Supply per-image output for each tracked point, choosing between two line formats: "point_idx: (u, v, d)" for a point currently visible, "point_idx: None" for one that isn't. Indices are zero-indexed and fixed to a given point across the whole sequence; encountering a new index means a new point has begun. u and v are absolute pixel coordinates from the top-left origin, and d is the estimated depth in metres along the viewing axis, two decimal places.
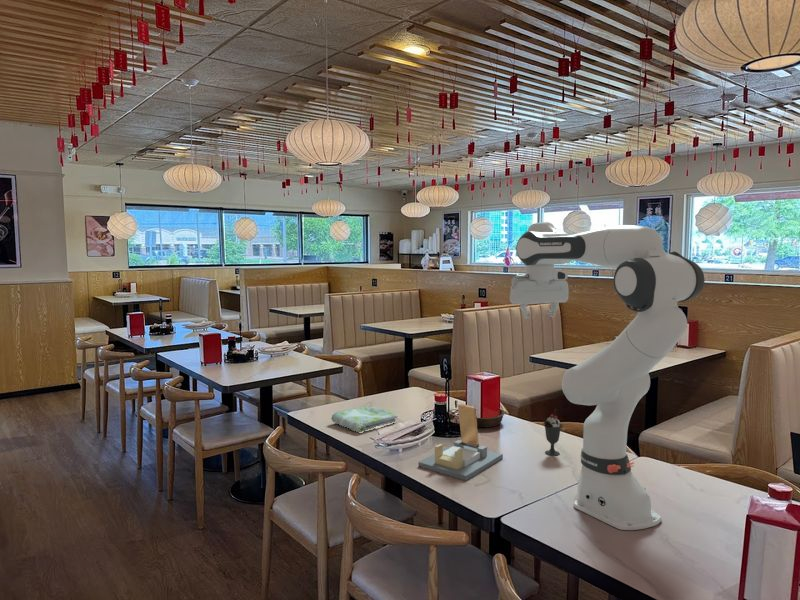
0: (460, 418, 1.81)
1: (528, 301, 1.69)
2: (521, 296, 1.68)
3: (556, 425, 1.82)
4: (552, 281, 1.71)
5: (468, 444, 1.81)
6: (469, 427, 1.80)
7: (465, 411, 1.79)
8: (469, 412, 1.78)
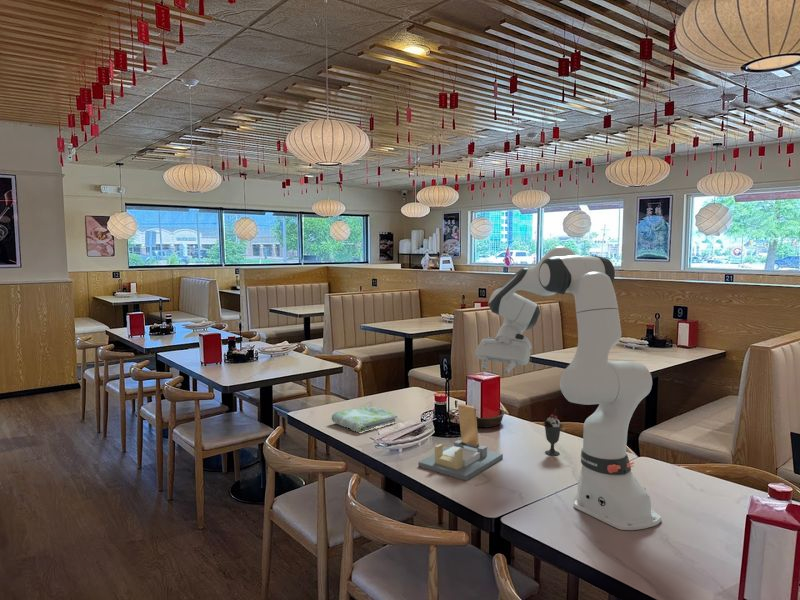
0: (460, 418, 1.81)
1: (485, 353, 1.97)
2: (481, 349, 2.00)
3: (556, 425, 1.82)
4: (512, 341, 1.95)
5: (468, 444, 1.81)
6: (469, 427, 1.80)
7: (465, 411, 1.79)
8: (469, 412, 1.78)
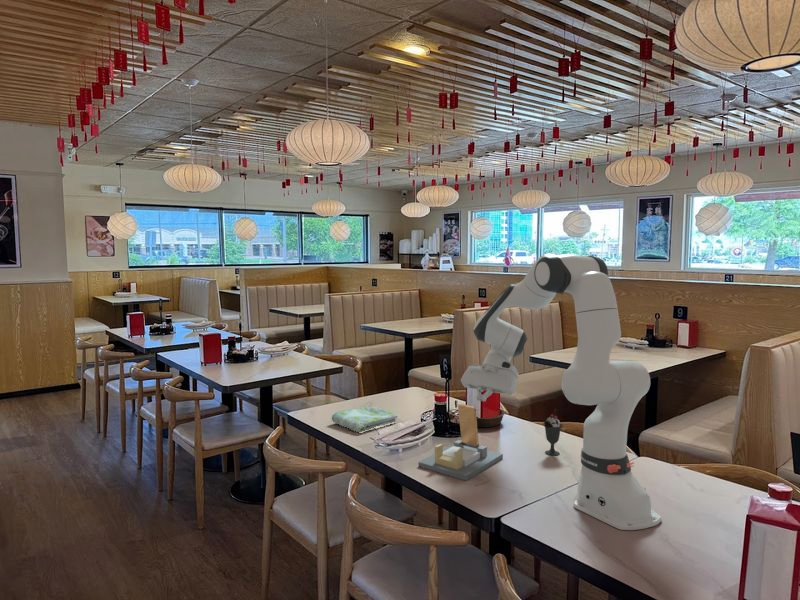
0: (460, 418, 1.81)
1: (471, 381, 1.90)
2: (467, 377, 1.93)
3: (556, 425, 1.82)
4: (498, 369, 1.88)
5: (468, 444, 1.81)
6: (469, 427, 1.80)
7: (465, 411, 1.79)
8: (469, 412, 1.78)
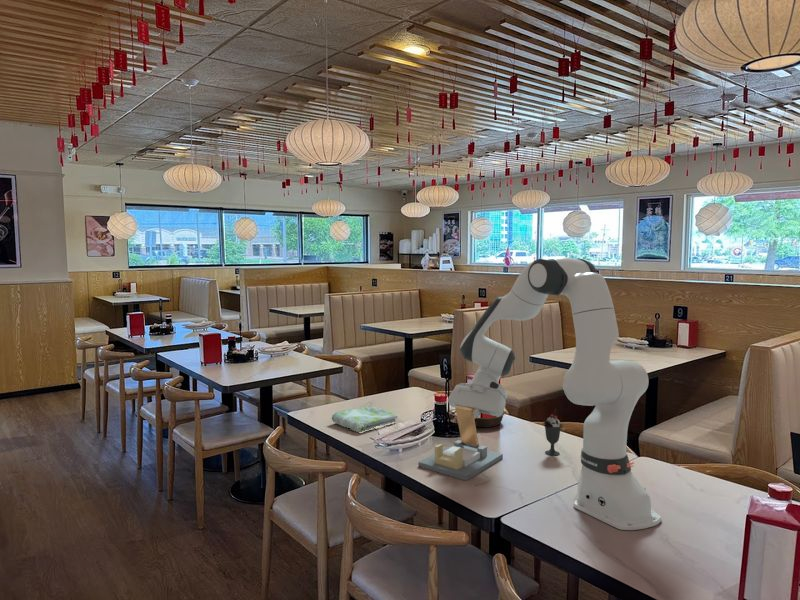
0: (458, 420, 1.80)
1: (458, 401, 1.85)
2: (454, 396, 1.87)
3: (556, 425, 1.82)
4: (486, 390, 1.82)
5: (468, 444, 1.81)
6: (467, 428, 1.79)
7: (463, 413, 1.78)
8: (467, 414, 1.77)
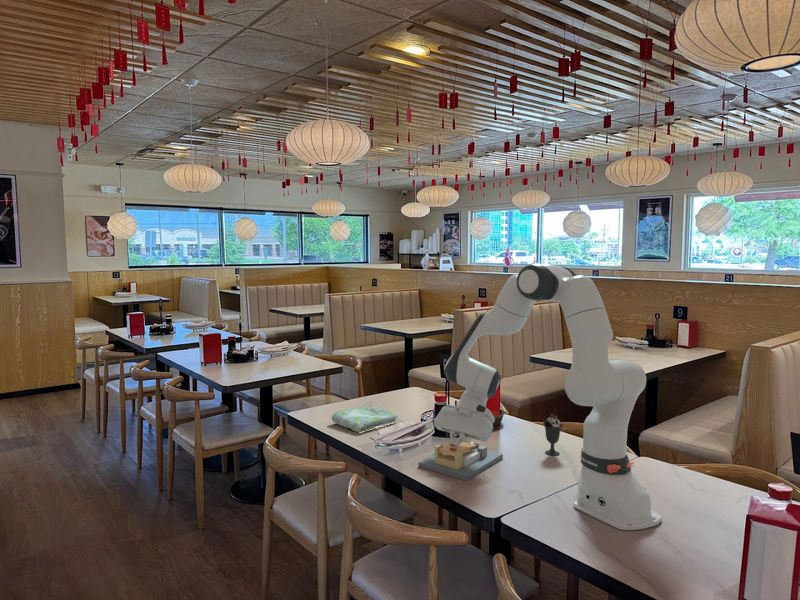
0: None
1: (444, 425, 1.79)
2: (440, 419, 1.82)
3: (556, 425, 1.82)
4: (472, 413, 1.76)
5: None
6: None
7: None
8: None
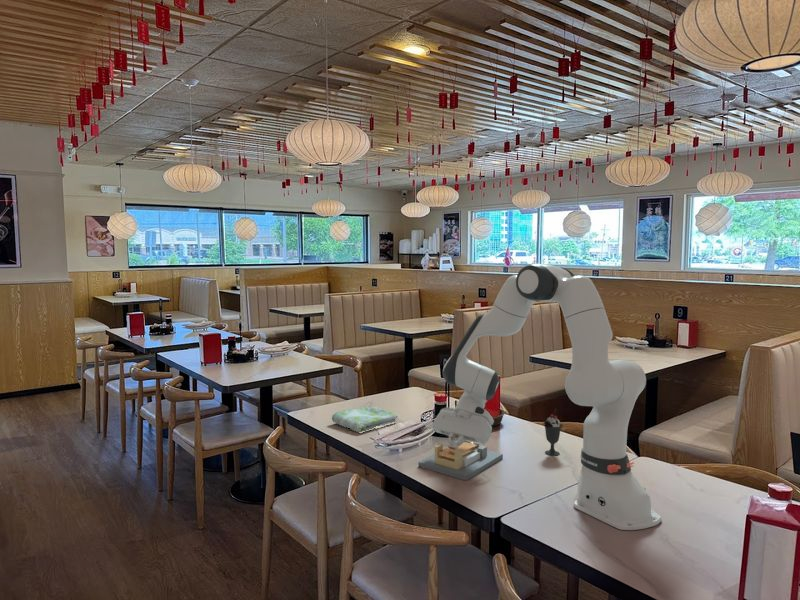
0: None
1: (443, 427, 1.78)
2: (439, 422, 1.80)
3: (556, 425, 1.82)
4: None
5: None
6: None
7: None
8: None
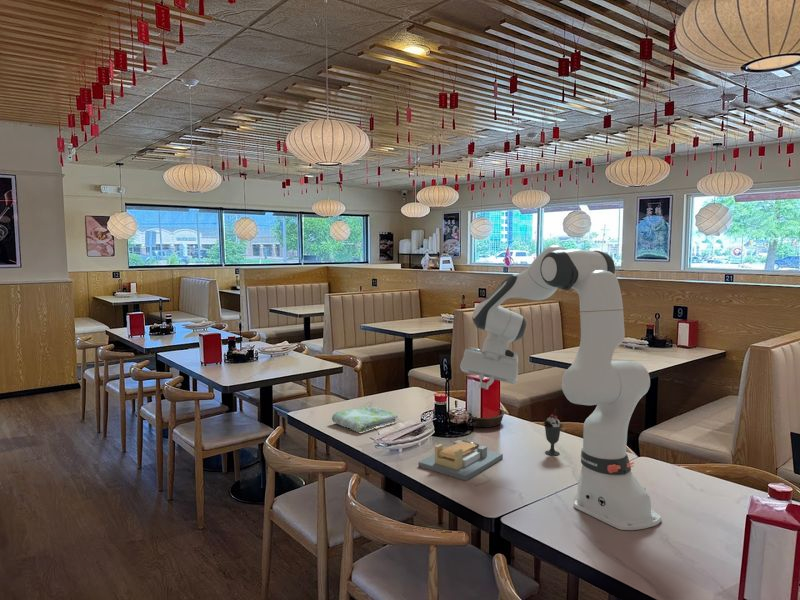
0: None
1: (472, 368, 1.89)
2: (467, 362, 1.90)
3: (556, 425, 1.82)
4: (500, 357, 1.88)
5: None
6: None
7: None
8: None
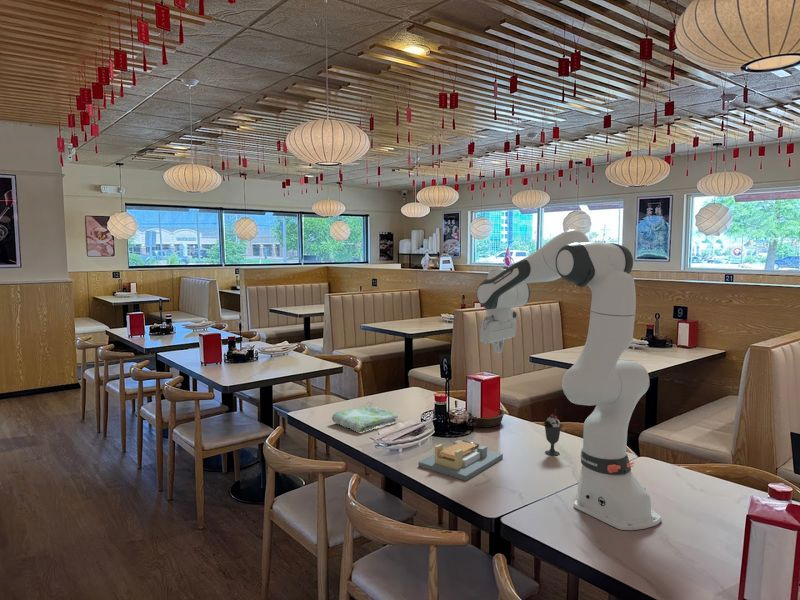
0: None
1: (495, 340, 1.88)
2: (492, 336, 1.86)
3: (556, 425, 1.82)
4: (508, 320, 1.94)
5: None
6: None
7: None
8: None
